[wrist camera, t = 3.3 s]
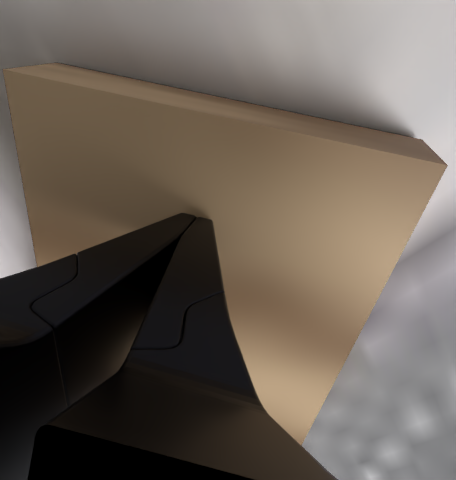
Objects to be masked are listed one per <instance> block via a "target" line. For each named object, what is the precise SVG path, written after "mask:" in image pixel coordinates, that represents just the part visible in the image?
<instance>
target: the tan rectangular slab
mask: <svg viewBox="0 0 456 480" xmlns="http://www.w3.org/2000/svg"><path fill="white" fill-rule="evenodd" d="M3 74H4V80H5V86H6V91H7V97H8V103H9V109H10V114H11V120H12V126H13V131H14V137H15V143H16V149H17V154H18V160H19V166H20V171H21V177H22V183H23V189H24V194H25V200H26V206H27V212H28V217H29V223H30V229H31V234H32V240H33V246H34V252H35V257H36V263H37V267H39V266H42V265H44V264H47V263H50V262H53V261H56V260H58V259H61V258H64V257H66V256H69V255H72V254H76V255H77V252H80V251H82V250H85V249H87V248H90V247H93V246H95V245H98V244H101V243H103V242H106V241H108V240H111V239H114V238H116V237H119V236H122V235H124V234H127V233H129V232H132V231H135V230H137V229H140V228H142V227H145V226H148V225H150V224H153V223H156V222H158V221H161V220H163V219H166V218H169V217H171V216H174V215H177V214H179V213H187V214H191V215H194V216H196V217H203V218H207V219H211V220H212V221H213V225H214V231H215V237H216V243H217V249H218V254H219V260H220V266H221V272H222V278H223V284H224V290H225V295H226V301H227V306H228V311H229V315H230V320H231V323H232V326H233V330H234V333H235V336H236V339H237V342H238V344H239V347H240V350H241V353H242V355H243V358H244V361H245V364H246V366H247V369H248V372H249V375H250V377H251V380H252V383H253V385H254V388H255V390H256V393H257V395H258V397H259V400H260V402H261V403H262V405H263V407H264V408H265V410H266V411H267V413H268V414H269V415H270V416H271V417H272V418H273V419H274V420H275V421H276V422H277V423H278V424H279V425H280V426H281V427H282V428H283V429H284V430H285V431H286V432H288V433H289V434H290V435H291V436H292V437H293V438H294V439H295V440H296V441H297V442H298V443H299V444H300V445H302V443H303V441H304V439H305V437H306V435H307V434H308V432H309V430H310V428H311V426H312V424H313V422H314V420H315V418H316V416H317V414H318V412H319V411H320V409H321V407H322V405H323V403H324V401H325V399H326V397H327V395H328V393H329V391H330V389H331V388H332V386H333V384H334V382H335V380H336V378H337V376H338V374H339V372H340V370H341V368H342V367H343V365H344V363H345V361H346V359H347V357H348V355H349V353H350V351H351V349H352V347H353V345H354V344H355V342H356V340H357V338H358V336H359V334H360V332H361V330H362V328H363V326H364V324H365V322H366V321H367V319H368V317H369V315H370V313H371V311H372V309H373V307H374V305H375V303H376V301H377V300H378V298H379V296H380V294H381V292H382V290H383V288H384V286H385V284H386V282H387V280H388V278H389V277H390V275H391V273H392V271H393V269H394V267H395V265H396V263H397V261H398V259H399V257H400V255H401V254H402V252H403V250H404V248H405V246H406V244H407V242H408V240H409V238H410V236H411V234H412V233H413V231H414V229H415V227H416V225H417V223H418V221H419V219H420V217H421V215H422V213H423V211H424V210H425V208H426V206H427V204H428V202H429V200H430V198H431V196H432V194H433V192H434V190H435V188H436V187H437V185H438V183H439V181H440V179H441V177H442V175H443V173H444V171H445V169H446V167H447V166H448V165H447V164H446V163H445V162H444V161H443V160H442V159H441V158H440V157H439V156H438V155H437V154H436V153H435V152H434V151H433V150H432V149H431V148H430V147H429V146H428V145H427V144H426V143H425V142H424V141H423V140H421V139H417V138H412V137H407V136H402V135H398V134H393V133H388V132H383V131H379V130H374V129H369V128H364V127H360V126H355V125H350V124H345V123H341V122H336V121H331V120H326V119H322V118H317V117H312V116H307V115H303V114H298V113H293V112H288V111H284V110H279V109H274V108H269V107H265V106H260V105H255V104H250V103H246V102H241V101H236V100H231V99H227V98H222V97H217V96H212V95H208V94H203V93H198V92H193V91H189V90H184V89H179V88H174V87H170V86H165V85H160V84H155V83H151V82H146V81H141V80H136V79H132V78H127V77H122V76H117V75H113V74H108V73H103V72H98V71H94V70H89V69H84V68H79V67H75V66H70V65H65V64H60V63H50V64H41V65H33V66H25V67H17V68H9V69H3Z"/></svg>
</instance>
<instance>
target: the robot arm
mask: <svg viewBox="0 0 456 480" xmlns="http://www.w3.org/2000/svg"><path fill="white" fill-rule="evenodd" d="M0 480H338V479H336V478H335V477H334V476H333V475H332V474H331V473H329V472H328V471H327V470H326V469H325V468H324V467H323V466H322V465H321V464H320V463H319V462H318V461H317V460H316V459H315V458H314V457H313V456H312V455H310V454H309V453H308V452H307V451H306V450H305V449H304V448H303V447H302V446H301V445H300V444H299V443H298V442H297V441H296V440H295V439H294V438H293V437H292V436H291V435H290V434H289V433H288V432H286V431H285V430H284V429H283V428H282V427H281V426H280V425H279V424H278V423H277V422H276V421H275V420H274V419H273V418H272V417H271V416H270V415H269V414H268V413H267V411H266V410H265V408H264V407H263V405H262V403H261V402H260V400H259V397H258V395H257V393H256V390H255V388H254V385H253V383H252V380H251V377H250V375H249V372H248V369H247V366H246V364H245V361H244V358H243V355H242V353H241V350H240V347H239V344H238V342H237V339H236V336H235V333H234V330H233V326H232V323H231V320H230V315H229V311H228V306H227V301H226V295H225V290H224V284H223V278H222V272H221V266H220V260H219V254H218V249H217V243H216V237H215V231H214V225H213V221H212V220H211V219H207V218H203V217H196V216H194V215H191V214H187V213H179V214H177V215H174V216H171V217H169V218H166V219H163V220H161V221H158V222H156V223H153V224H150V225H148V226H145V227H142V228H140V229H137V230H135V231H132V232H129V233H127V234H124V235H122V236H119V237H116V238H114V239H111V240H108V241H106V242H103V243H101V244H98V245H95V246H93V247H90V248H87V249H85V250H82V251H80V252H77V255H76V254H72V255H69V256H66V257H64V258H61V259H58V260H56V261H53V262H50V263H47V264H44V265H42V266H39V267H36V268H33V269H29V270H26V271H23V272H20V273H17V274H14V275H10V276H7V277H4V278H0Z"/></svg>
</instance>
